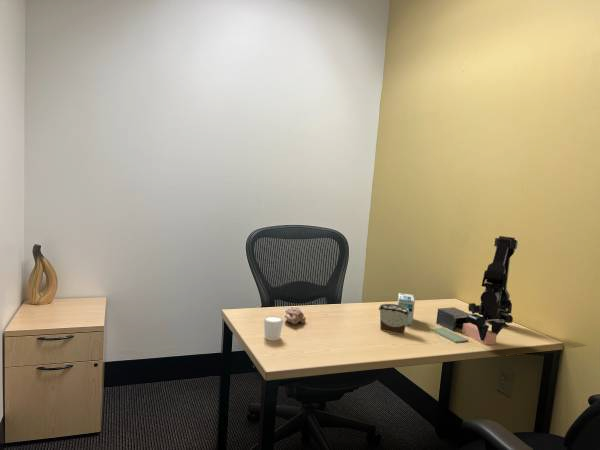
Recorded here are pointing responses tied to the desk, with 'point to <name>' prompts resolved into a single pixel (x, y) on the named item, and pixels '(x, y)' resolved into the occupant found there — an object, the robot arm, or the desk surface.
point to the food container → (393, 318)
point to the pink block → (473, 332)
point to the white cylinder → (272, 327)
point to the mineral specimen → (294, 316)
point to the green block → (449, 335)
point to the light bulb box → (407, 305)
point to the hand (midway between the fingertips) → (487, 339)
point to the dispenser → (451, 317)
